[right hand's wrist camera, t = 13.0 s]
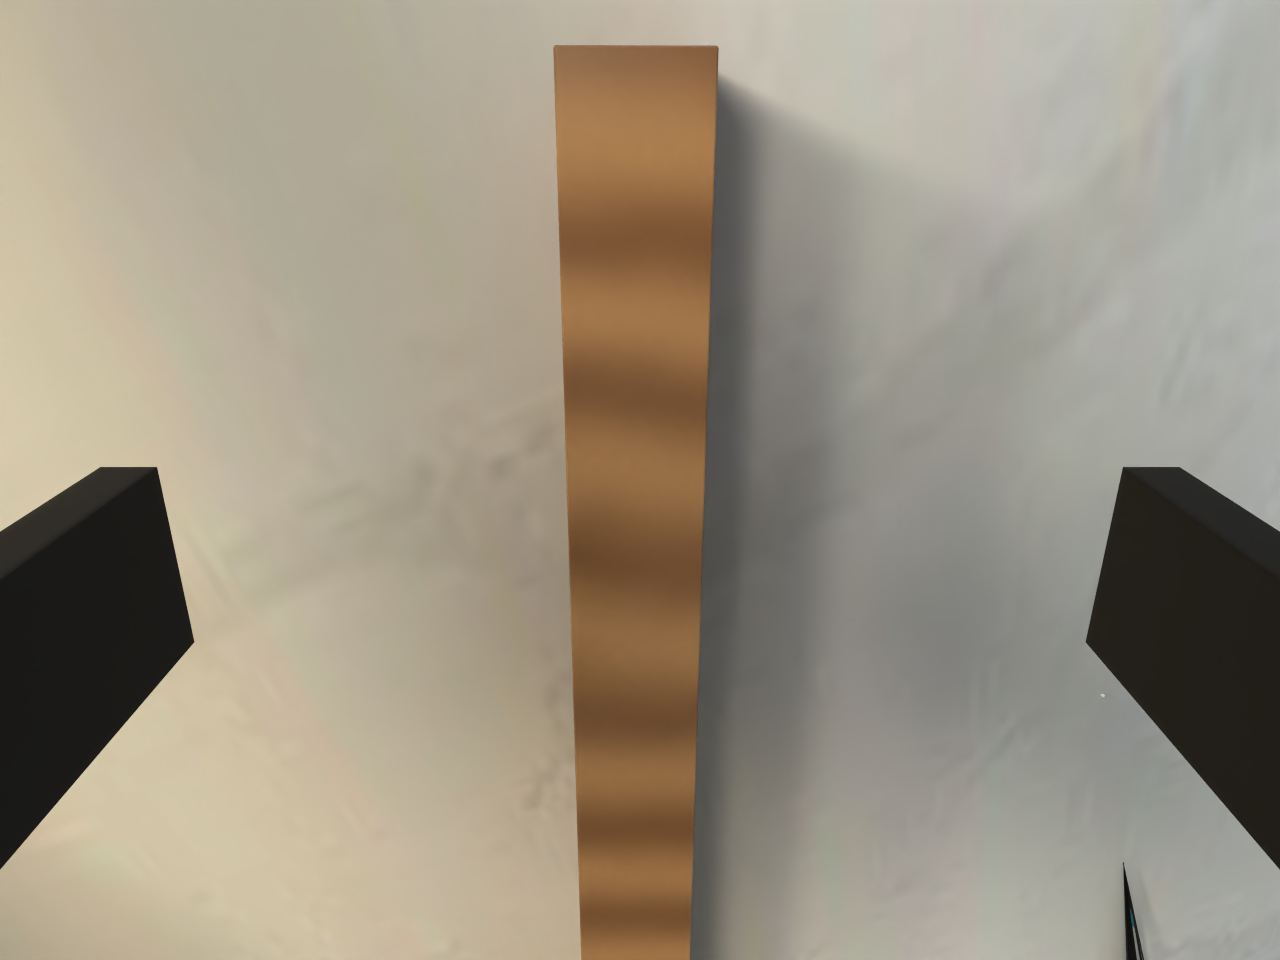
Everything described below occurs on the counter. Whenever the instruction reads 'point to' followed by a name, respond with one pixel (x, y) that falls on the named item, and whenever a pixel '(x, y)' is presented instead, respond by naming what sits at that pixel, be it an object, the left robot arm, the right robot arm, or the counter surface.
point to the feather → (1130, 920)
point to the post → (635, 471)
